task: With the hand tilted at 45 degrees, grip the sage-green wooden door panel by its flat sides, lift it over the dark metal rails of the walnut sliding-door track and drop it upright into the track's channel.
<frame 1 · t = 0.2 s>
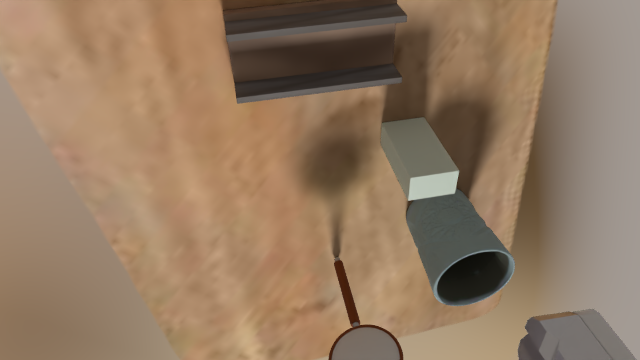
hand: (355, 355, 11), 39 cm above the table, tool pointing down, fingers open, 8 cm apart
blue-grey cylindrical cup: (436, 209, 67), on the table
door panel: (402, 130, 57), on the table
magnifying glass: (336, 256, 69), on the table
track: (312, 42, 48), on the table
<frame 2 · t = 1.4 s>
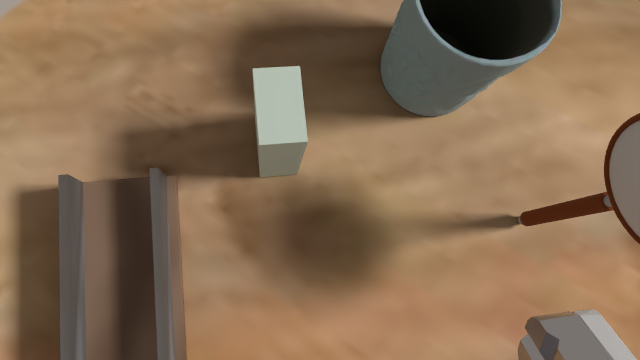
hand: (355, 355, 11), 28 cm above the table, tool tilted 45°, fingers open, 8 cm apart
blue-grey cylindrical cup: (427, 69, 44), on the table
door panel: (275, 146, 40), on the table
magnifying glass: (519, 220, 42), on the table
track: (128, 286, 37), on the table
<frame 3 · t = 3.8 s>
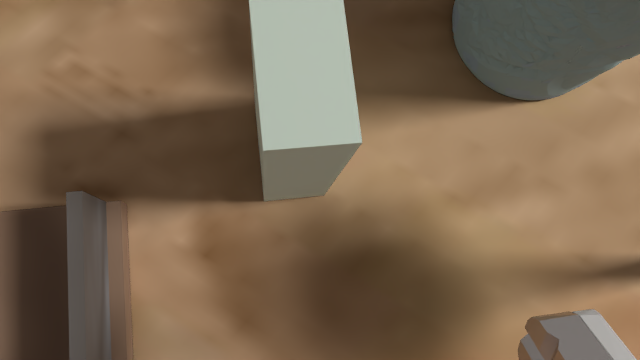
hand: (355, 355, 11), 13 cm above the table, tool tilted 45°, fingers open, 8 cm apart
blue-grey cylindrical cup: (523, 28, 28), on the table
door panel: (289, 149, 25), on the table
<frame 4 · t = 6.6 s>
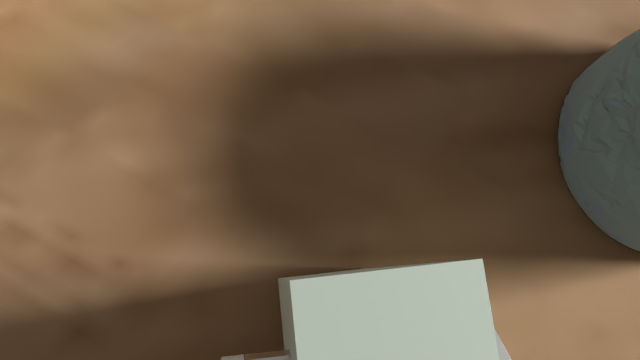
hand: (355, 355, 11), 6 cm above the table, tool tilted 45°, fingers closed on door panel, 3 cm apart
door panel: (328, 347, 17), on the table, touching gripper
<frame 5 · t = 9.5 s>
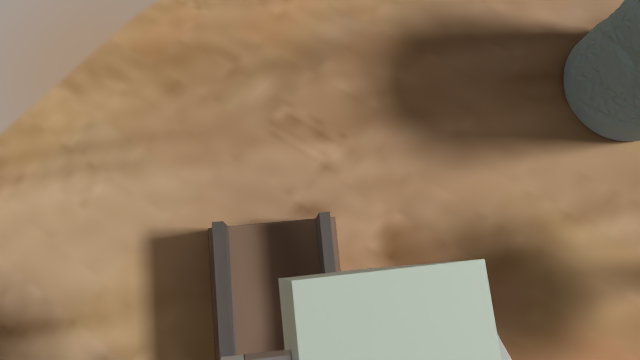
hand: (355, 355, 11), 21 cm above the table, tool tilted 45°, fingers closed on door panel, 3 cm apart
blue-grey cylindrical cup: (617, 84, 36), on the table
door panel: (329, 348, 17), point 15 cm above the table, touching gripper
track: (282, 352, 31), on the table
when the fingers open (8 cm above the table, at t = 12.9 s): door panel drops 1 cm, resting on track.
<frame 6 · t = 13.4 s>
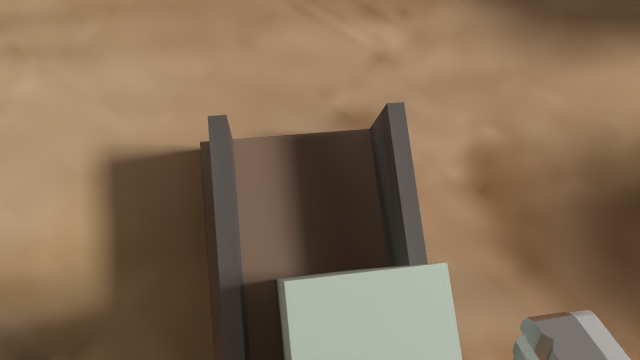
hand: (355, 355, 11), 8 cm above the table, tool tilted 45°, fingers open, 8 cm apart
door panel: (323, 342, 18), point 1 cm above the table, touching track
track: (321, 338, 19), on the table
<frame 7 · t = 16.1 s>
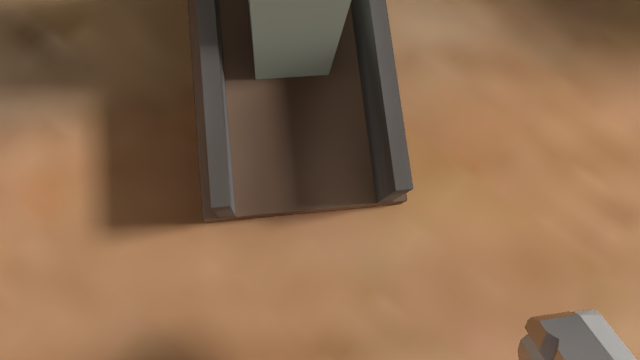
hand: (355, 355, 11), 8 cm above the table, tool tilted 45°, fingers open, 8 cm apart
door panel: (286, 20, 21), point 1 cm above the table, touching track
track: (286, 31, 22), on the table
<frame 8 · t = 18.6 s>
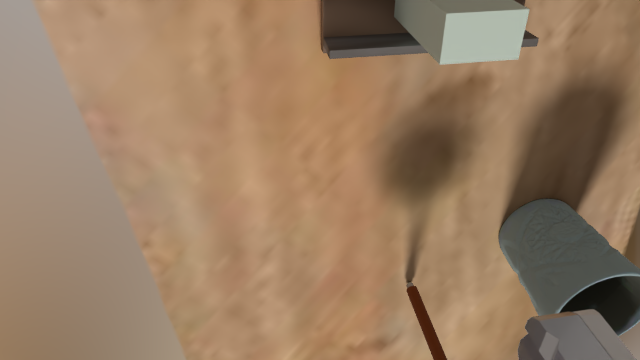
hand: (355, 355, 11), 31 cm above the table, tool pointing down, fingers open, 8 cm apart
blue-grey cylindrical cup: (535, 228, 55), on the table
magnifying glass: (408, 281, 56), on the table
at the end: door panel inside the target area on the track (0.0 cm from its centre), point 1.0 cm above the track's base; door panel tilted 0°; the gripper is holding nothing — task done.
